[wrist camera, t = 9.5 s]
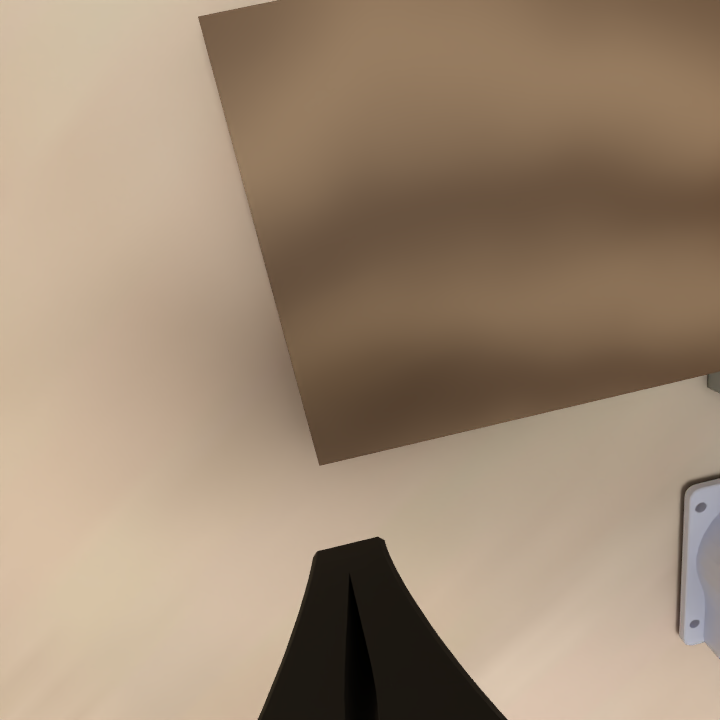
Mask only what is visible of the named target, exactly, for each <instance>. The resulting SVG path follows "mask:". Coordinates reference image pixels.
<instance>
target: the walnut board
mask: <svg viewBox="0 0 720 720" xmlns="http://www.w3.org/2000/svg"><path fill="white" fill-rule="evenodd" d="M198 18H199V22H200V26H201V29H202V33H203V37H204V40H205V44H206V48H207V51H208V55H209V59H210V63H211V66H212V70H213V74H214V77H215V81H216V85H217V88H218V92H219V96H220V100H221V103H222V107H223V111H224V114H225V118H226V122H227V125H228V129H229V133H230V136H231V140H232V144H233V148H234V151H235V155H236V159H237V162H238V166H239V170H240V173H241V177H242V181H243V185H244V188H245V192H246V196H247V199H248V203H249V207H250V210H251V214H252V218H253V221H254V225H255V229H256V233H257V236H258V240H259V244H260V247H261V251H262V255H263V258H264V262H265V266H266V270H267V273H268V277H269V281H270V284H271V288H272V292H273V295H274V299H275V303H276V306H277V310H278V314H279V318H280V321H281V325H282V329H283V332H284V336H285V340H286V343H287V347H288V351H289V355H290V358H291V362H292V366H293V369H294V373H295V377H296V380H297V384H298V388H299V392H300V395H301V399H302V403H303V406H304V410H305V414H306V417H307V421H308V425H309V428H310V432H311V436H312V440H313V443H314V447H315V451H316V454H317V458H318V462H319V465H325V464H329V463H333V462H337V461H342V460H346V459H350V458H354V457H359V456H363V455H367V454H371V453H376V452H380V451H384V450H388V449H393V448H397V447H401V446H405V445H410V444H414V443H418V442H422V441H427V440H431V439H435V438H439V437H444V436H448V435H452V434H456V433H461V432H465V431H469V430H473V429H478V428H482V427H486V426H490V425H495V424H499V423H503V422H507V421H512V420H516V419H520V418H524V417H529V416H533V415H537V414H541V413H546V412H550V411H554V410H558V409H563V408H567V407H571V406H575V405H580V404H584V403H588V402H592V401H597V400H601V399H605V398H609V397H614V396H618V395H622V394H626V393H630V392H635V391H639V390H643V389H647V388H652V387H656V386H660V385H664V384H669V383H673V382H677V381H681V380H686V379H690V378H694V377H698V376H703V375H707V374H711V373H715V372H720V0H277V1H273V2H268V3H263V4H258V5H253V6H248V7H243V8H238V9H233V10H229V11H224V12H219V13H214V14H209V15H204V16H199V17H198Z"/></svg>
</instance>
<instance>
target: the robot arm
mask: <svg viewBox="0 0 720 720" xmlns="http://www.w3.org/2000/svg"><path fill="white" fill-rule="evenodd" d="M679 636H680V638H681V639H682V641H683V642H684V643H685V644H686V645H695V644H699V643H703V642H705V643H706V644H707V645H708V647H709V648H710V649H711V650H712V651H713V652H714V653H715V655H716V656H717V657H718V658H719V659H720V478H719V479H715V480H711V481H707V482H703V483H698V484H695V485H692V486H691V487H689V488H688V489H687V491H686V493H685V501H684V526H683V552H682V577H681V602H680V628H679ZM258 720H507V719H506V717H505V716H504V715H503V714H502V713H501V712H500V711H499V710H498V709H497V707H496V706H495V705H494V704H493V703H492V702H491V701H490V699H489V698H488V697H487V696H486V695H485V694H484V692H483V691H482V690H481V689H480V688H479V687H478V685H477V684H476V683H475V682H474V681H473V679H472V678H471V677H470V676H469V675H468V673H467V672H466V671H465V670H464V668H463V667H462V666H461V665H460V663H459V662H458V661H457V659H456V658H455V657H454V656H453V654H452V653H451V652H450V650H449V649H448V648H447V646H446V645H445V644H444V642H443V641H442V640H441V638H440V637H439V636H438V634H437V633H436V631H435V630H434V629H433V627H432V626H431V624H430V623H429V621H428V620H427V618H426V617H425V615H424V614H423V612H422V611H421V609H420V608H419V606H418V605H417V603H416V602H415V600H414V599H413V597H412V596H411V594H410V592H409V591H408V589H407V588H406V586H405V584H404V582H403V580H402V579H401V577H400V575H399V573H398V572H397V570H396V568H395V566H394V564H393V562H392V559H391V557H390V555H389V552H388V550H387V547H386V544H385V540H383V539H381V538H379V537H375V538H371V539H367V540H362V541H358V542H354V543H350V544H346V545H342V546H337V547H333V548H329V549H325V550H321V551H317V553H316V554H315V556H314V557H313V561H312V566H311V571H310V575H309V579H308V583H307V586H306V590H305V594H304V597H303V600H302V604H301V607H300V610H299V614H298V617H297V619H296V622H295V625H294V628H293V631H292V634H291V637H290V640H289V643H288V646H287V649H286V651H285V654H284V657H283V659H282V662H281V664H280V667H279V669H278V672H277V674H276V677H275V679H274V682H273V684H272V687H271V689H270V692H269V694H268V697H267V699H266V702H265V704H264V706H263V709H262V711H261V713H260V715H259V718H258Z"/></svg>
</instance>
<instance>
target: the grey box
mask: <svg viewBox="0 0 720 720" xmlns="http://www.w3.org/2000/svg"><path fill="white" fill-rule="evenodd" d="M708 388H710V389H712V390H714V391H716V392H718V393H720V372H715V373H711V374H708Z"/></svg>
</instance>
